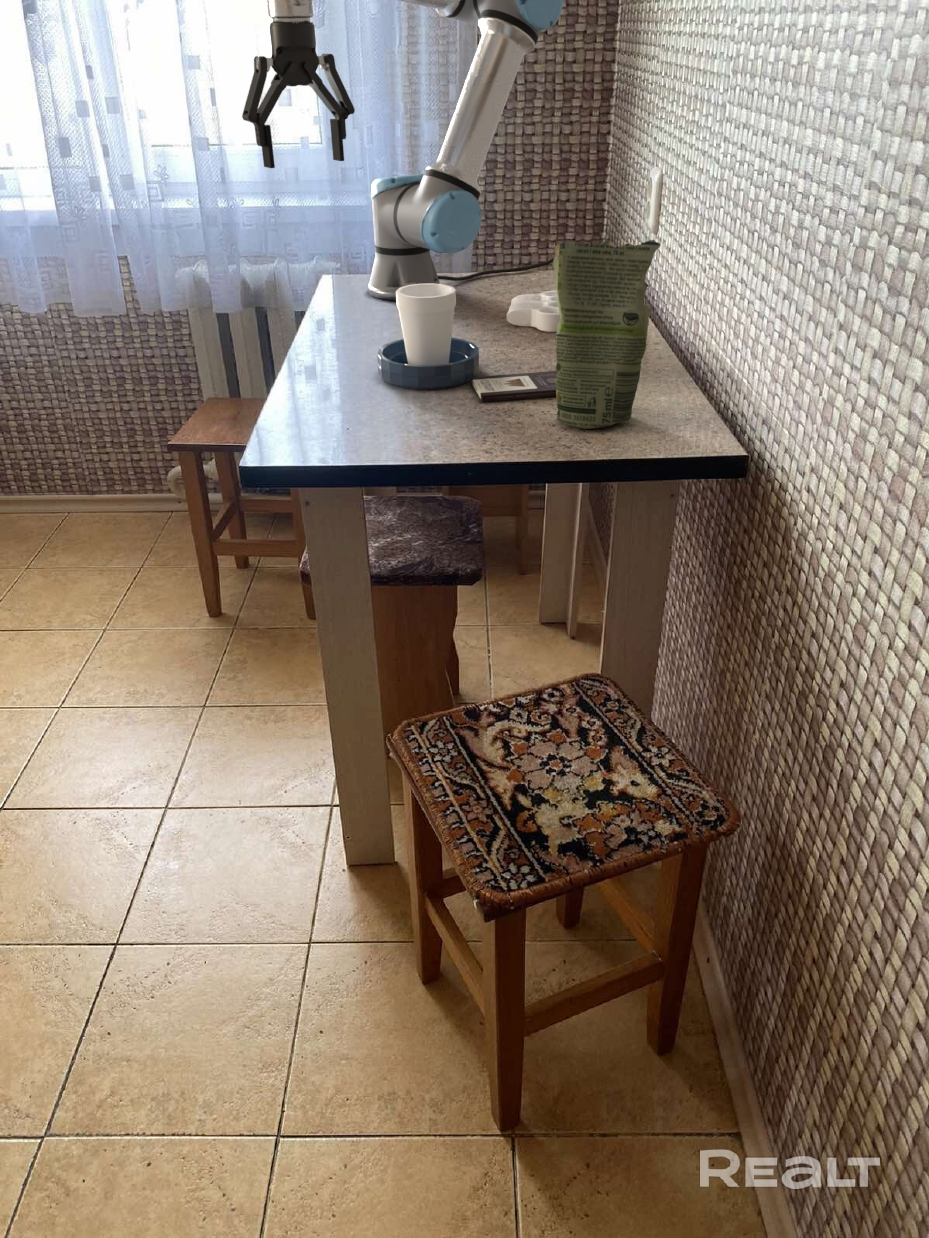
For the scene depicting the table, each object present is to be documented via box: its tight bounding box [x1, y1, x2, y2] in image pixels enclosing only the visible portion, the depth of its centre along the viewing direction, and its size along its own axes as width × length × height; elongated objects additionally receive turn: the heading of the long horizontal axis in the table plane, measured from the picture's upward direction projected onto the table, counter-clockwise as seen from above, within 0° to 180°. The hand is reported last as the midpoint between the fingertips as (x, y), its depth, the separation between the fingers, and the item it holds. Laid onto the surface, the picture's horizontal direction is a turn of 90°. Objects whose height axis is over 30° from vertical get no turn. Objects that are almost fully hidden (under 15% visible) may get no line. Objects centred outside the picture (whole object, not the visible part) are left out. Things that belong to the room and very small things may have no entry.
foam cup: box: [395, 283, 457, 365], centre depth 153 cm, size 10×9×13 cm
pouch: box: [551, 237, 662, 430], centre depth 131 cm, size 11×12×25 cm
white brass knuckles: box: [506, 289, 560, 333], centre depth 183 cm, size 3×18×15 cm
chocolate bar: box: [470, 370, 557, 403], centre depth 149 cm, size 9×1×18 cm
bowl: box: [376, 337, 480, 390], centre depth 155 cm, size 17×17×4 cm
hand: (304, 164), depth 165 cm, fingers open, 13 cm apart
